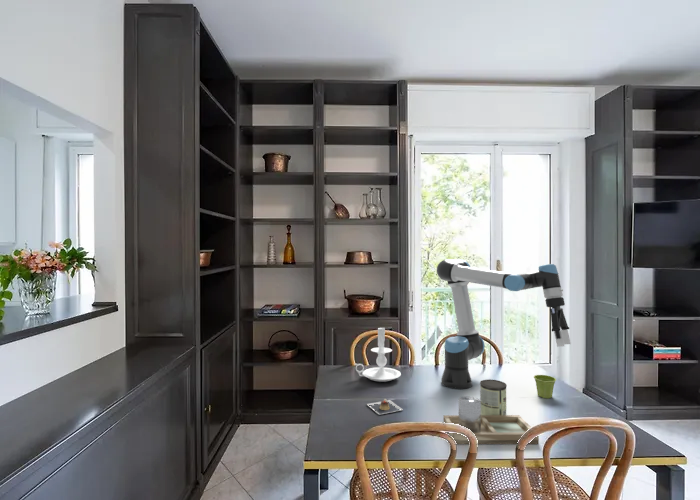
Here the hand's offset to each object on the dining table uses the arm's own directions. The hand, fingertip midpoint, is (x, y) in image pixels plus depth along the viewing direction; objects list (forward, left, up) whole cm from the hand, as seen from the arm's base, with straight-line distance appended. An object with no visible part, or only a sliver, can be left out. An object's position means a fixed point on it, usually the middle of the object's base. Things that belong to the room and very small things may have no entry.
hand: (564, 345), depth 174 cm
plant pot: (-10, -4, -27) cm, 29 cm away
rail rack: (+27, -44, -26) cm, 58 cm away
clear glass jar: (+27, -51, -25) cm, 63 cm away
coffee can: (+13, -37, -27) cm, 47 cm away
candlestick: (-35, -81, -27) cm, 92 cm away
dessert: (+3, -81, -27) cm, 85 cm away
